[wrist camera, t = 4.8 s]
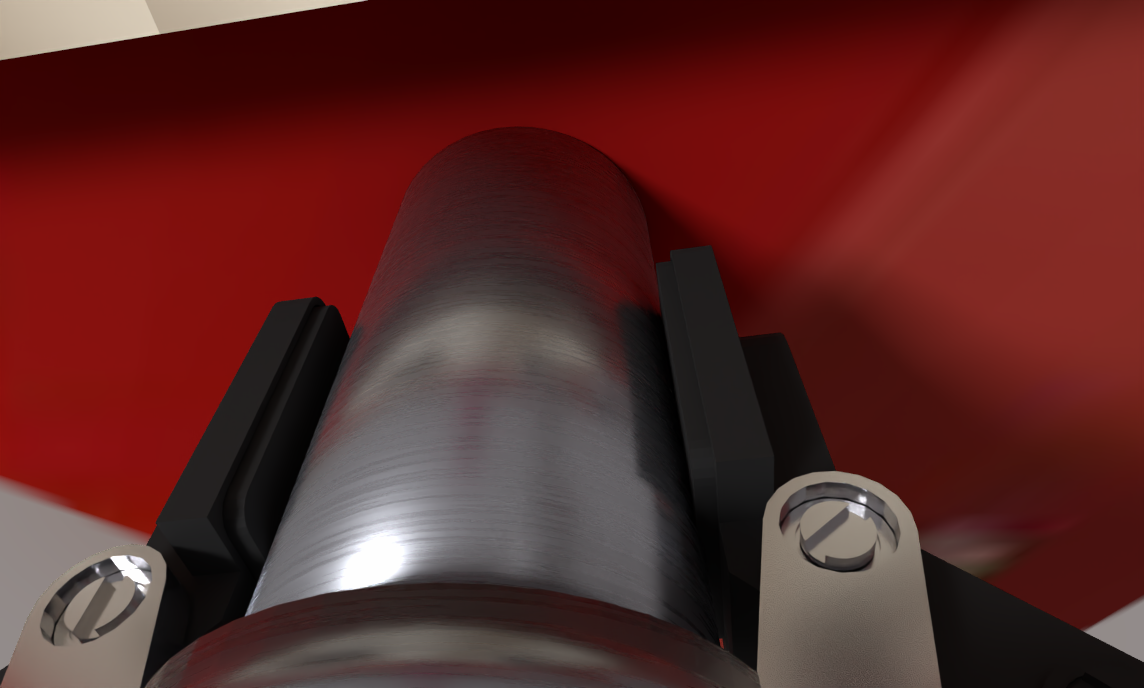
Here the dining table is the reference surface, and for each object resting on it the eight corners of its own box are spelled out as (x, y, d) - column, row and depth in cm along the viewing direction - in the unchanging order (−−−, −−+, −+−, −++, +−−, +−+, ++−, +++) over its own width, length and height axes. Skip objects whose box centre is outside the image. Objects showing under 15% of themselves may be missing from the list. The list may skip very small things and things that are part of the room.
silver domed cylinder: (665, 71, 12) (868, 703, 4) (686, 351, 15) (822, 1020, 7) (323, 122, 12) (-132, 784, 4) (413, 384, 16) (248, 1047, 7)
